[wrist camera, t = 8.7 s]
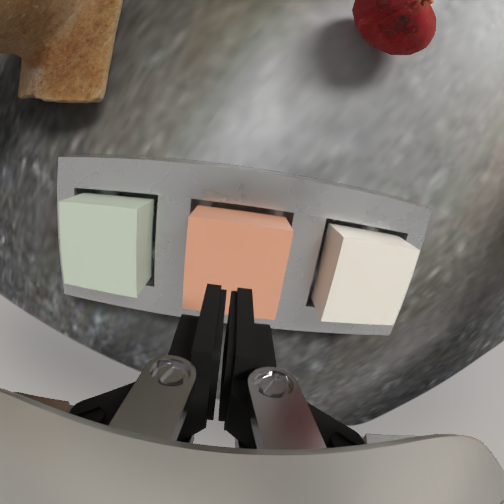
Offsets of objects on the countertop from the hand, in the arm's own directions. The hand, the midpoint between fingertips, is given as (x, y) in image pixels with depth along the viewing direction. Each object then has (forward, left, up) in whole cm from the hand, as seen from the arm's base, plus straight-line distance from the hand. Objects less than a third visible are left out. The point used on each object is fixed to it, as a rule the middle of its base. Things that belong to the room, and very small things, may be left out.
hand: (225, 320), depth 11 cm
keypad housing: (0, 0, -11) cm, 11 cm away
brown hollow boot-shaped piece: (+17, -16, -12) cm, 26 cm away
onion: (-8, -18, -12) cm, 23 cm away
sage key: (+8, 0, -8) cm, 11 cm away
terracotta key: (0, 0, -7) cm, 7 cm away
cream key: (-8, 0, -8) cm, 11 cm away
